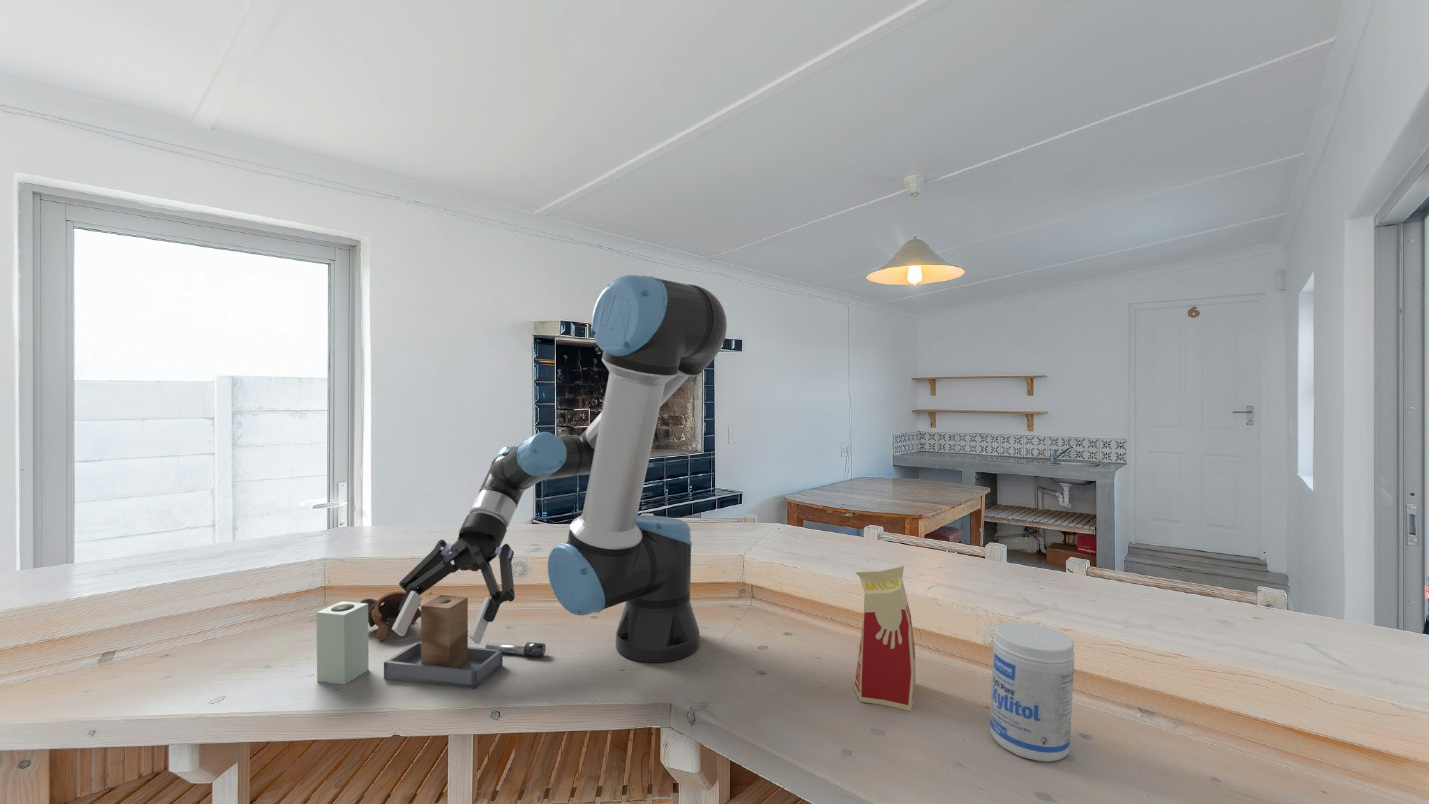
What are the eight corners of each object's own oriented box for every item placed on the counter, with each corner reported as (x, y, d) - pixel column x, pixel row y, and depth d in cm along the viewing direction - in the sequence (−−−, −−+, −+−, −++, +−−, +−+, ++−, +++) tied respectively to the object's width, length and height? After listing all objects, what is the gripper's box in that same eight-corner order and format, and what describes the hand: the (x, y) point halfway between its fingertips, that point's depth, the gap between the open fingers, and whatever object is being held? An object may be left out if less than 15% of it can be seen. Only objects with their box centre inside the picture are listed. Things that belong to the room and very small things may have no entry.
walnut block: (467, 662, 102) (467, 597, 102) (449, 676, 97) (449, 607, 97) (440, 659, 103) (440, 594, 103) (421, 673, 98) (420, 605, 98)
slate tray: (502, 665, 102) (502, 650, 102) (474, 688, 94) (474, 672, 94) (417, 656, 105) (417, 641, 105) (383, 678, 98) (383, 662, 97)
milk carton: (915, 683, 98) (917, 559, 97) (914, 712, 89) (917, 576, 88) (857, 673, 101) (859, 553, 100) (850, 701, 92) (852, 569, 91)
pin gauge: (545, 653, 107) (545, 641, 107) (539, 659, 105) (539, 646, 105) (490, 648, 109) (490, 636, 109) (483, 653, 107) (483, 641, 107)
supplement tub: (980, 744, 81) (983, 635, 81) (1000, 715, 88) (1003, 614, 88) (1062, 775, 75) (1066, 657, 74) (1077, 741, 82) (1081, 633, 82)
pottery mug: (429, 620, 122) (431, 592, 119) (405, 660, 114) (407, 631, 110) (368, 606, 121) (368, 577, 118) (340, 646, 113) (339, 615, 109)
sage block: (368, 670, 100) (368, 603, 100) (344, 684, 95) (344, 614, 95) (342, 667, 101) (341, 600, 101) (317, 681, 96) (316, 612, 96)
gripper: (557, 536, 112) (516, 652, 98) (435, 529, 117) (379, 638, 103) (544, 513, 107) (498, 633, 92) (417, 506, 111) (354, 619, 97)
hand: (435, 636), depth 97 cm, fingers open, 13 cm apart
